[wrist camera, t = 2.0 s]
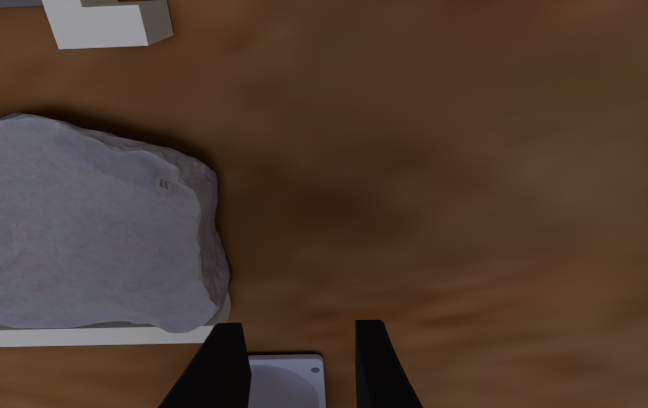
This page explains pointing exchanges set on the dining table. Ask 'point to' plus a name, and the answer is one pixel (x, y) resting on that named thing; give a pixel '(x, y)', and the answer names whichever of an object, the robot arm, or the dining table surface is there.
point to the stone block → (104, 230)
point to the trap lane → (94, 32)
